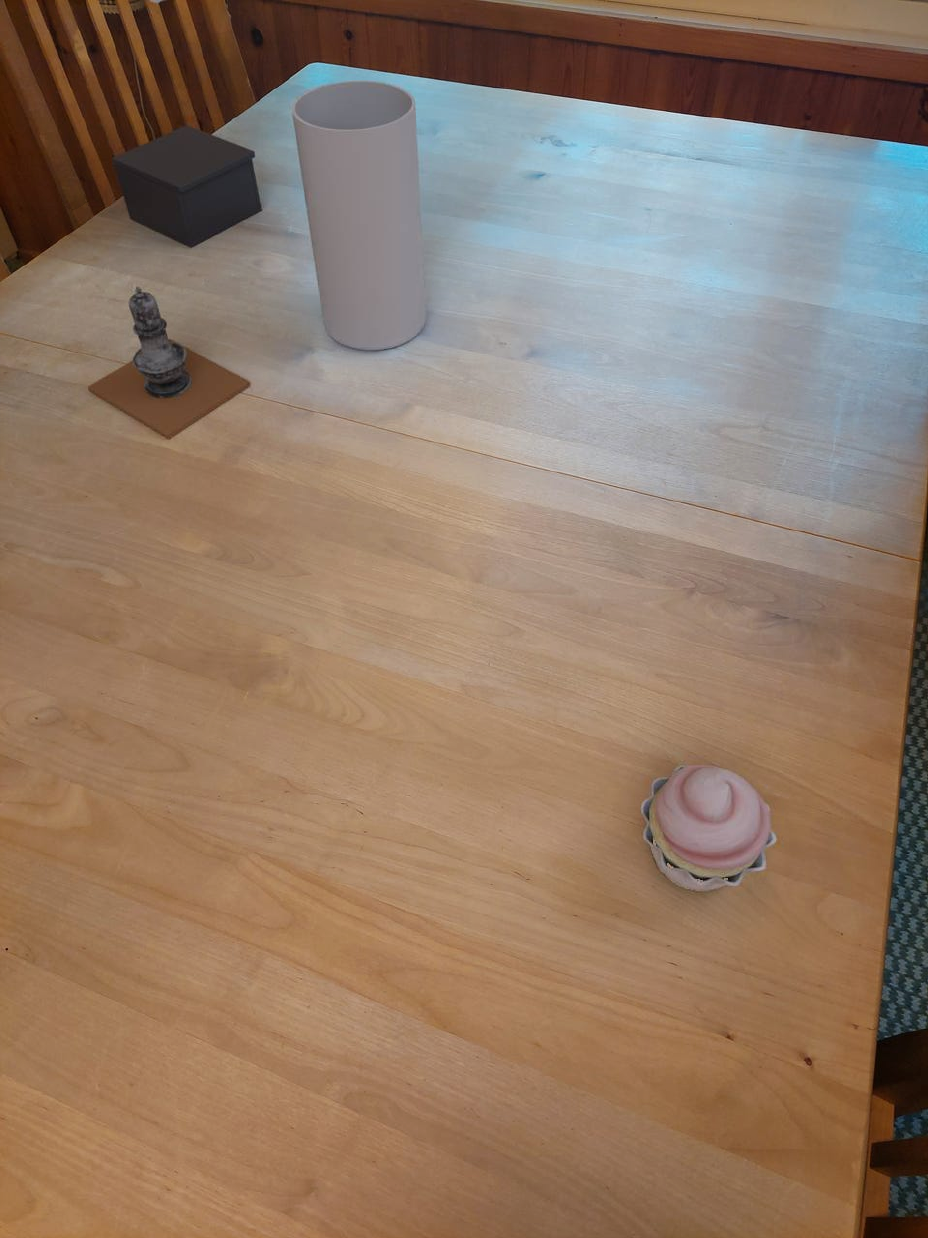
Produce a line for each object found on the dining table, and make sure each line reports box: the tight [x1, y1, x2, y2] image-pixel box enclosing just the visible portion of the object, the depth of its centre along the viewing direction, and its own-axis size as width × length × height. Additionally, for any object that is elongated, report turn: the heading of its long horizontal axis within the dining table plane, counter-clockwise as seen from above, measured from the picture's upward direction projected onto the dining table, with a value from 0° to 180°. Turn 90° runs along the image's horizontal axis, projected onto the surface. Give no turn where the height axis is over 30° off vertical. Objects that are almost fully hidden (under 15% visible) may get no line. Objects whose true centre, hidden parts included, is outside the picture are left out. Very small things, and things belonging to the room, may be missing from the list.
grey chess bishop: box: [128, 286, 192, 398], centre depth 98 cm, size 6×6×12 cm
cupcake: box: [640, 764, 778, 892], centre depth 62 cm, size 9×9×10 cm
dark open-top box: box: [113, 158, 263, 249], centre depth 126 cm, size 13×13×8 cm
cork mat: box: [87, 338, 251, 440], centre depth 102 cm, size 14×12×1 cm
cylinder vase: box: [291, 80, 427, 351], centre depth 101 cm, size 12×12×25 cm
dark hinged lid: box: [111, 124, 256, 193], centre depth 122 cm, size 14×13×1 cm
